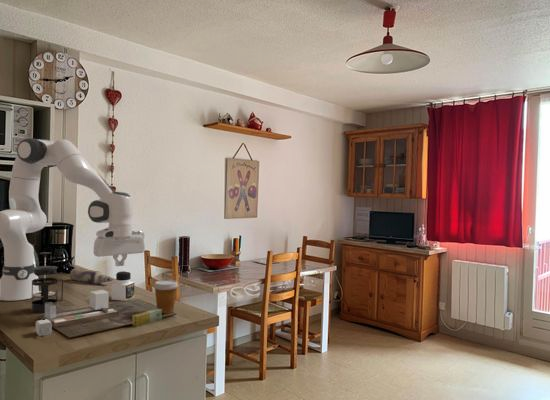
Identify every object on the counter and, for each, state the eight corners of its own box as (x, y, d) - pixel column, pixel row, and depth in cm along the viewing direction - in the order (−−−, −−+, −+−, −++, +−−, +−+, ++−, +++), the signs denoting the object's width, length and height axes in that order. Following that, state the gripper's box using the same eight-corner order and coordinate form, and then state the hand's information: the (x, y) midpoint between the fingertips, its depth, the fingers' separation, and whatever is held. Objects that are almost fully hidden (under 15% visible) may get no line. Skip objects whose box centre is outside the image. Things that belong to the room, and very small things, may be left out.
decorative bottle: (68, 281, 217) (68, 268, 217) (80, 279, 224) (80, 266, 224) (105, 287, 207) (105, 273, 206) (116, 284, 213) (116, 271, 213)
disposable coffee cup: (164, 316, 161) (165, 285, 160) (148, 312, 166) (148, 282, 165) (182, 311, 169) (183, 281, 168) (165, 307, 174) (166, 278, 174)
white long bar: (44, 316, 152) (44, 302, 152) (102, 306, 166) (102, 294, 166) (49, 320, 147) (50, 306, 147) (108, 309, 162) (108, 297, 162)
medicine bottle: (125, 301, 181) (126, 273, 181) (111, 299, 183) (111, 272, 183) (134, 297, 188) (135, 271, 188) (120, 296, 190) (120, 270, 190)
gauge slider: (89, 306, 163) (89, 291, 163) (102, 304, 166) (102, 289, 166) (100, 312, 156) (100, 296, 155) (113, 310, 159) (113, 294, 159)
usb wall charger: (48, 330, 141) (48, 318, 141) (53, 336, 136) (53, 324, 136) (35, 332, 139) (35, 320, 139) (39, 338, 133) (40, 326, 133)
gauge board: (42, 319, 153) (43, 314, 153) (104, 308, 169) (104, 303, 169) (54, 327, 144) (54, 322, 144) (118, 315, 160) (118, 310, 160)
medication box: (158, 318, 159) (158, 307, 159) (162, 319, 158) (163, 308, 158) (131, 326, 149) (131, 314, 149) (136, 327, 148) (136, 316, 148)
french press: (29, 314, 158) (30, 254, 158) (27, 308, 166) (29, 251, 165) (63, 310, 164) (64, 253, 164) (60, 305, 172) (61, 250, 172)
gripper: (140, 230, 177) (140, 262, 178) (92, 232, 163) (91, 267, 163) (147, 231, 173) (147, 264, 173) (98, 233, 158) (97, 269, 159)
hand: (119, 265), depth 168 cm, fingers closed
